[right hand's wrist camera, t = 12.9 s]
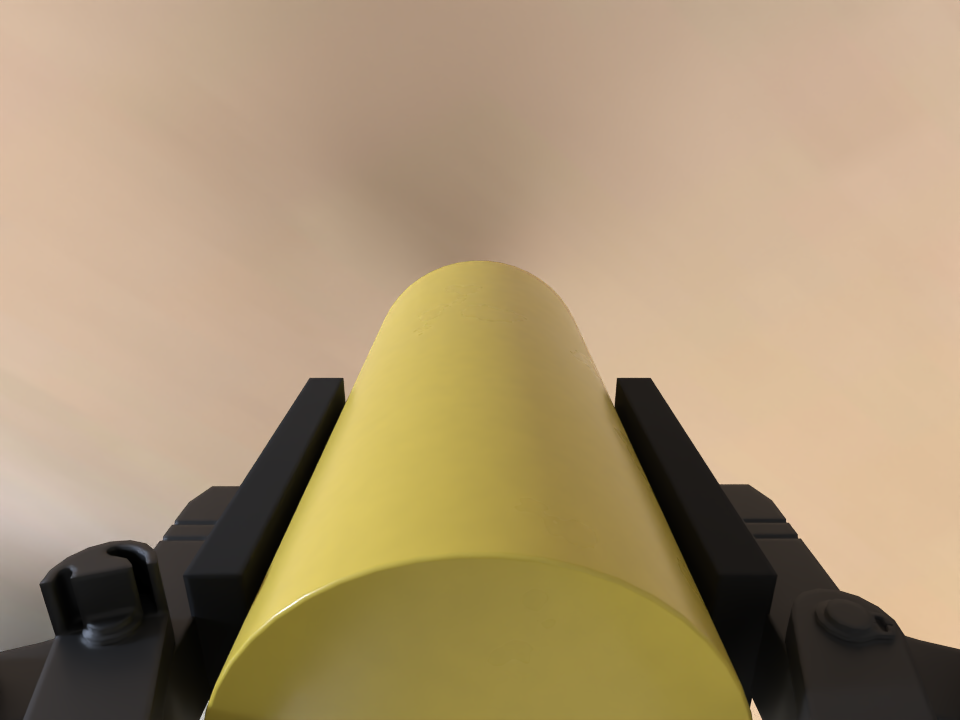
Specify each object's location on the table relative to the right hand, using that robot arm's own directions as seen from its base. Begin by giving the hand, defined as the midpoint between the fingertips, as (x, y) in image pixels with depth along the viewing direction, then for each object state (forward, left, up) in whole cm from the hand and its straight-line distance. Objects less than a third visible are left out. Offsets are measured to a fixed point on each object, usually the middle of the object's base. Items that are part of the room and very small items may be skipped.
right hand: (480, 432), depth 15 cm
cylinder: (0, 0, -5) cm, 5 cm away
